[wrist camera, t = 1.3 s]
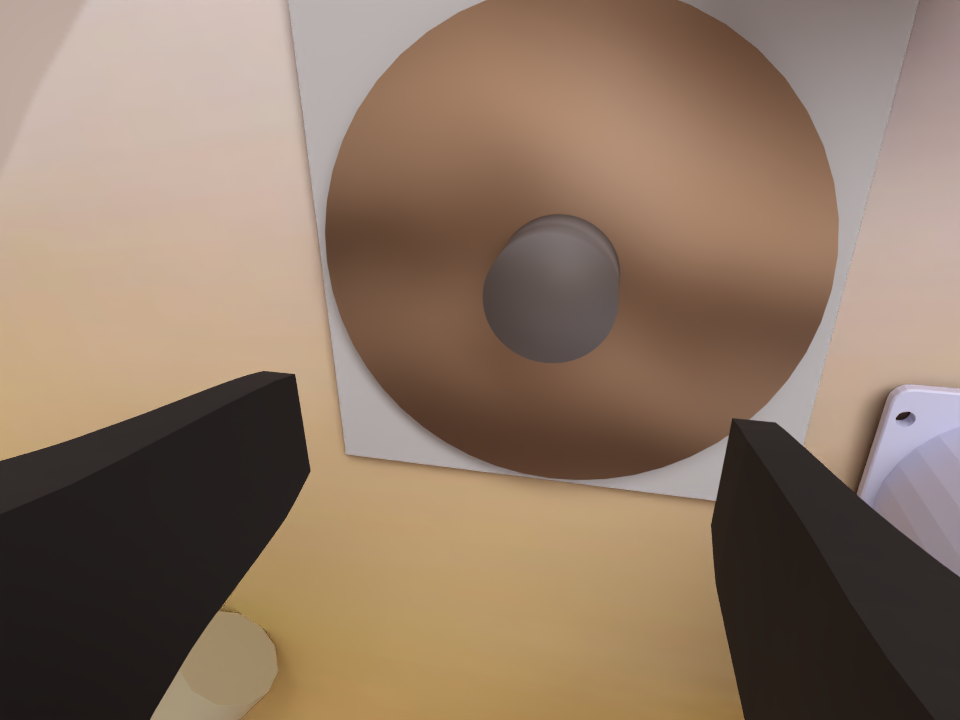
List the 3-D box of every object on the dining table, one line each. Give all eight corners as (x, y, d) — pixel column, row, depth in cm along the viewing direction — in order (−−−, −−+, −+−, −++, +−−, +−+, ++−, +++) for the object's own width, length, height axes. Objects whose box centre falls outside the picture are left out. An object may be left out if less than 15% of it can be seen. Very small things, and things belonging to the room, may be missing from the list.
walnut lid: (773, 494, 21) (794, 558, 18) (357, 444, 24) (323, 492, 21) (902, -29, 14) (964, -49, 11) (303, -6, 17) (243, -17, 15)
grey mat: (784, 502, 21) (786, 509, 21) (350, 448, 24) (346, 454, 24) (925, -52, 14) (934, -55, 14) (292, -25, 17) (284, -26, 17)
